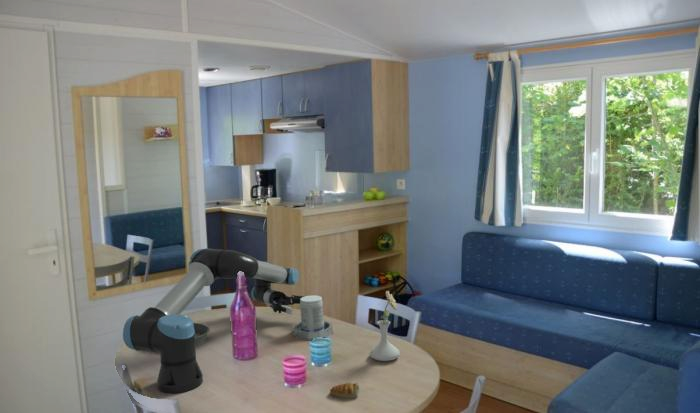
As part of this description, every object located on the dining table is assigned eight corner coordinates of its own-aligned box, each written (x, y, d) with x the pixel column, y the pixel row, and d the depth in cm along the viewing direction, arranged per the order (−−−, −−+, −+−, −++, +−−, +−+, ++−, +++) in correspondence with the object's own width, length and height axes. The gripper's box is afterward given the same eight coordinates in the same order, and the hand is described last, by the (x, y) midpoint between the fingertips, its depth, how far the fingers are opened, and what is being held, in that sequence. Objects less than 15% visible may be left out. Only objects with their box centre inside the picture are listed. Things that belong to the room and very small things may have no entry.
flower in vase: (390, 366, 206) (388, 298, 203) (363, 360, 212) (361, 295, 209) (407, 354, 217) (405, 289, 214) (381, 348, 223) (379, 286, 220)
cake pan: (201, 351, 228) (200, 341, 227) (140, 353, 229) (139, 342, 228) (216, 331, 252) (216, 321, 252) (161, 332, 253) (160, 322, 252)
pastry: (329, 399, 182) (328, 387, 182) (331, 390, 189) (331, 379, 189) (358, 399, 181) (357, 388, 181) (360, 390, 188) (359, 379, 188)
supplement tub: (324, 327, 249) (322, 294, 247) (324, 334, 240) (322, 300, 238) (302, 328, 249) (300, 295, 247) (301, 336, 239) (299, 301, 238)
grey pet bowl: (339, 333, 242) (339, 326, 242) (305, 342, 233) (305, 335, 233) (320, 324, 256) (320, 317, 255) (287, 331, 247) (287, 325, 247)
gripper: (297, 300, 273) (326, 309, 257) (252, 313, 256) (281, 323, 240) (296, 285, 272) (325, 293, 256) (251, 296, 255) (280, 305, 239)
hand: (304, 307), depth 248 cm, fingers open, 13 cm apart
